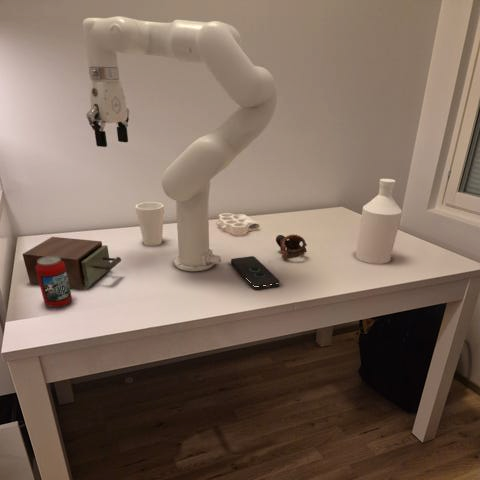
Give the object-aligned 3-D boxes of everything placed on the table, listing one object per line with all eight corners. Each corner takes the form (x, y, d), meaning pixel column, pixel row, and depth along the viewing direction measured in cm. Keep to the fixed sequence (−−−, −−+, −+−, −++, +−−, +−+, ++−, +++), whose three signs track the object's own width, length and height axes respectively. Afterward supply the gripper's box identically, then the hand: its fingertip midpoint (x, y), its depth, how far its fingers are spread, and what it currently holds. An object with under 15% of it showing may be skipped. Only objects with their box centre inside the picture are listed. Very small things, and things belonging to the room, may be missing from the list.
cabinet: (106, 269, 128) (101, 241, 123) (82, 289, 116) (76, 259, 111) (58, 264, 131) (52, 236, 126) (30, 283, 119) (22, 254, 114)
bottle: (362, 247, 147) (375, 174, 134) (396, 255, 142) (413, 179, 129) (349, 258, 139) (361, 180, 126) (384, 267, 133) (401, 187, 120)
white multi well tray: (263, 232, 159) (227, 237, 154) (244, 219, 173) (210, 223, 168) (263, 224, 157) (227, 228, 152) (244, 211, 171) (210, 214, 166)
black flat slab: (254, 285, 117) (229, 258, 133) (253, 290, 117) (229, 263, 133) (280, 280, 119) (254, 255, 135) (280, 286, 120) (253, 260, 136)
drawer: (127, 269, 126) (124, 247, 122) (107, 288, 115) (103, 264, 111) (65, 263, 129) (61, 241, 125) (40, 281, 118) (34, 257, 114)
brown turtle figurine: (311, 255, 142) (313, 239, 135) (295, 273, 139) (296, 258, 131) (282, 239, 146) (283, 223, 139) (266, 256, 143) (265, 241, 136)
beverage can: (54, 311, 105) (43, 267, 99) (39, 303, 109) (28, 260, 103) (77, 301, 110) (69, 259, 104) (62, 294, 114) (53, 252, 107)
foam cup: (133, 244, 146) (129, 207, 139) (148, 236, 154) (145, 200, 147) (157, 248, 143) (154, 211, 136) (171, 240, 151) (168, 204, 144)
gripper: (94, 75, 103) (104, 149, 112) (135, 75, 117) (141, 141, 126) (70, 74, 106) (81, 147, 115) (113, 74, 120) (120, 139, 128)
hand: (112, 144), depth 120 cm, fingers open, 9 cm apart
